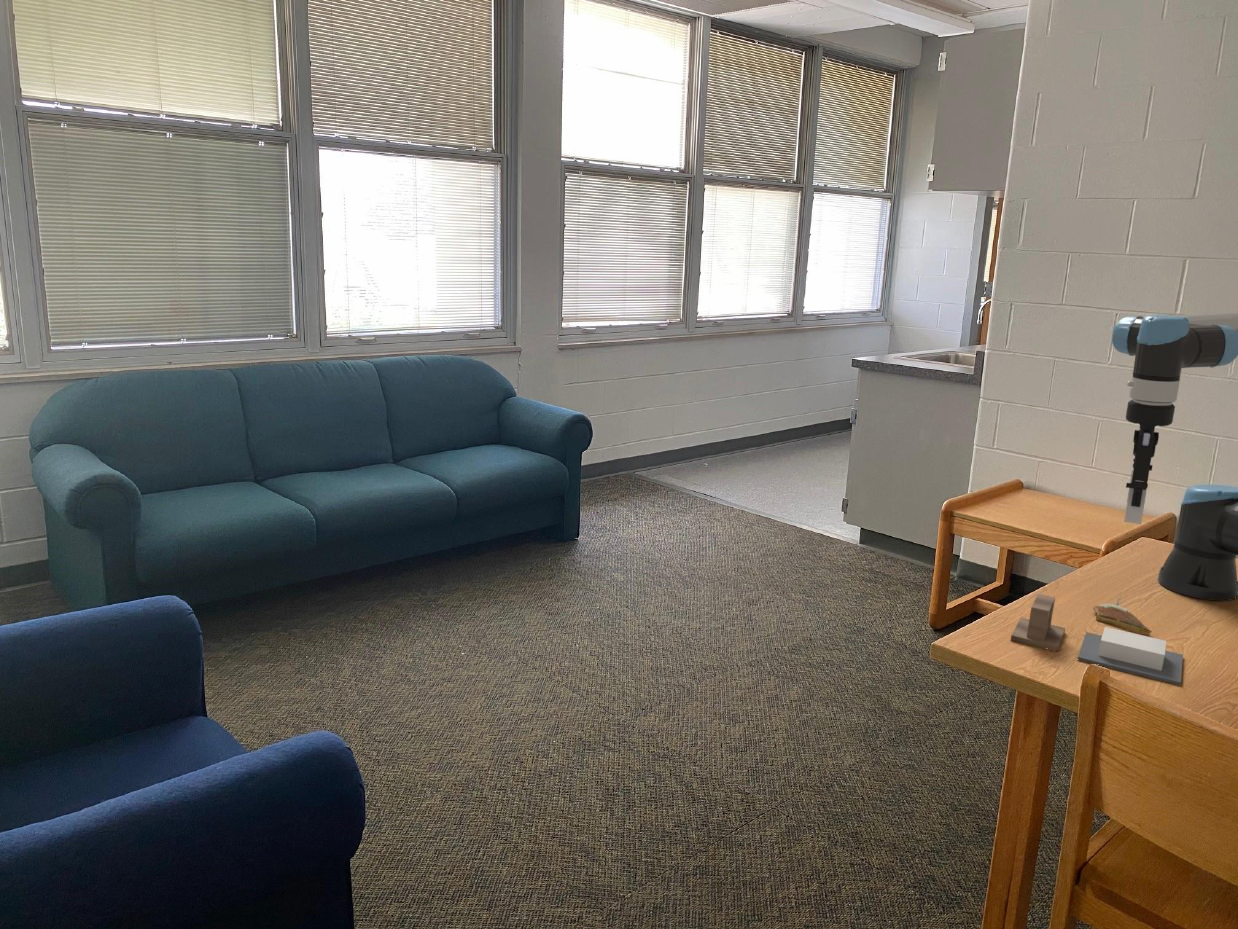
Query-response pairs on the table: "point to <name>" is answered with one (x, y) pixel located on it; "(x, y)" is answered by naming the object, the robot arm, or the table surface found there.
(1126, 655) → the card box
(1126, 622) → the shard
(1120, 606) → the sign
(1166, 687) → the table surface
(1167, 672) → the rubber mat
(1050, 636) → the walnut stand
